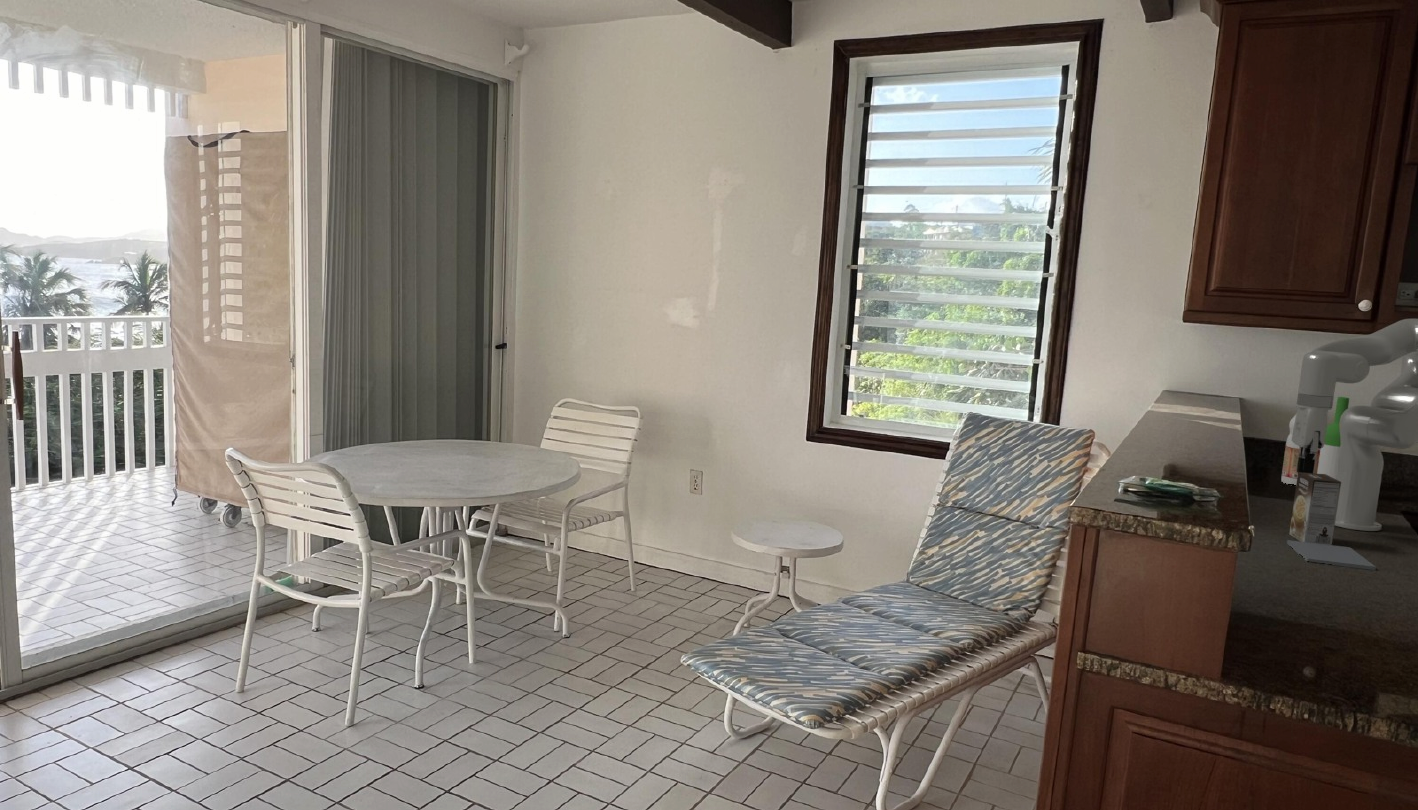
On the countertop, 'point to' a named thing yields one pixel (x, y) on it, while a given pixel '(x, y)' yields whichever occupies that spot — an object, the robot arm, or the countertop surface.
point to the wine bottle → (1332, 442)
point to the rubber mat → (1331, 555)
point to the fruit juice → (1293, 458)
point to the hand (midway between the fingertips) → (1304, 473)
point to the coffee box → (1315, 508)
